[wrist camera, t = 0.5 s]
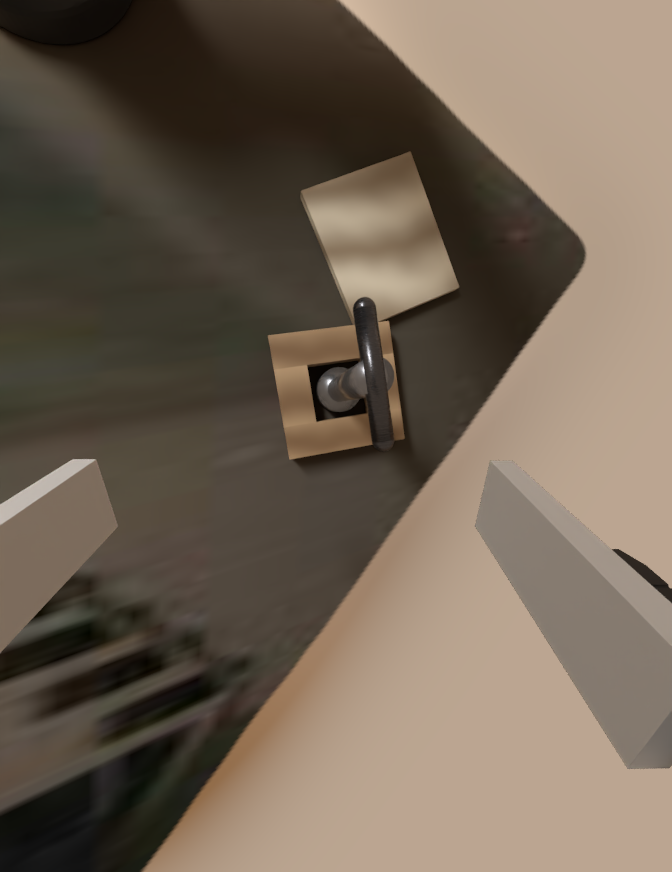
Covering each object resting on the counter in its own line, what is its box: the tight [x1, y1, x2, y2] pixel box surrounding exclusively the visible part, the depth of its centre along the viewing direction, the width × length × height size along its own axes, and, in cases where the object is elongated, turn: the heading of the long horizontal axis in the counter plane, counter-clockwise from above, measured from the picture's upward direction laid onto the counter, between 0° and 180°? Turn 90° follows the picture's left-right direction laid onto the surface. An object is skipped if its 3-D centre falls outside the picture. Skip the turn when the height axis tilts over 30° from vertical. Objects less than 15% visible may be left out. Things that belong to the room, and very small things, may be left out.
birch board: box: [300, 151, 459, 325], centre depth 33 cm, size 14×12×1 cm
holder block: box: [268, 321, 405, 459], centre depth 32 cm, size 12×12×2 cm
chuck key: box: [316, 297, 394, 452], centre depth 26 cm, size 9×4×15 cm, turn 9°
